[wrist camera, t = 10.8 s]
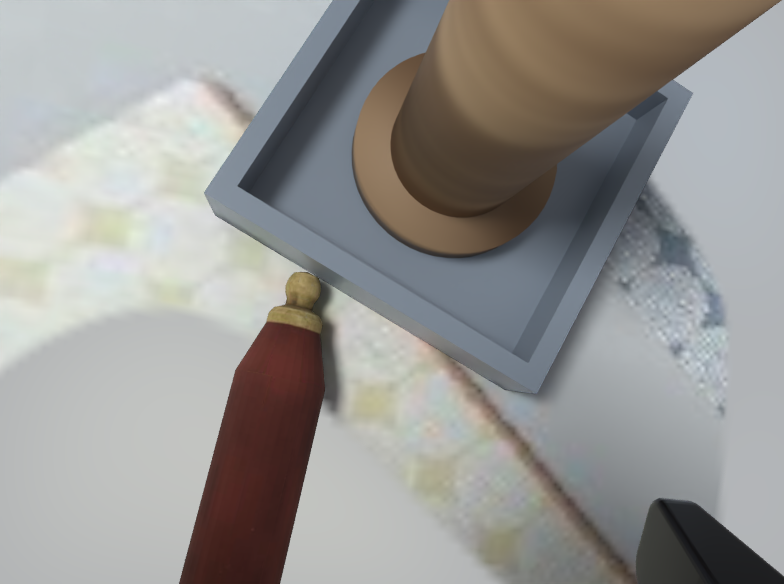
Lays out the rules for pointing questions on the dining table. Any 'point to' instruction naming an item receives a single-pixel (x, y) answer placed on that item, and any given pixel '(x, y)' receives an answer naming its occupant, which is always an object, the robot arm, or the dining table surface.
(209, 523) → the gavel
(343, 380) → the dining table surface
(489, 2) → the walnut handle
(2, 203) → the dining table surface
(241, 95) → the dining table surface
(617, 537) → the dining table surface
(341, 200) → the box
